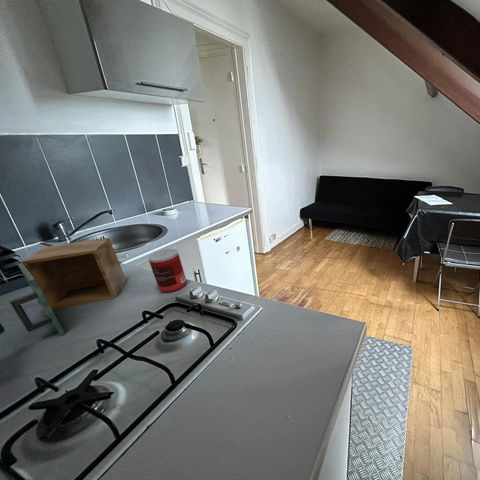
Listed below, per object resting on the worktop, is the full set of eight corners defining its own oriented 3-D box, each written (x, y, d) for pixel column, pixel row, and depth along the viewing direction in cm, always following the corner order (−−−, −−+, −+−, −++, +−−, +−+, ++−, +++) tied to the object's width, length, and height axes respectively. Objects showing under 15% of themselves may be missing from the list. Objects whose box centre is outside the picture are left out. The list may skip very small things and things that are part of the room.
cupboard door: (37, 347, 59) (1, 290, 53) (24, 322, 67) (-8, 271, 61) (65, 334, 62) (34, 279, 56) (50, 312, 71) (22, 262, 65)
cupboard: (116, 298, 76) (95, 249, 70) (49, 312, 71) (21, 261, 65) (127, 281, 84) (109, 237, 78) (68, 293, 80) (44, 247, 74)
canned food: (182, 277, 85) (172, 246, 81) (191, 285, 80) (181, 253, 76) (156, 286, 80) (144, 254, 76) (163, 296, 75) (152, 263, 71)
